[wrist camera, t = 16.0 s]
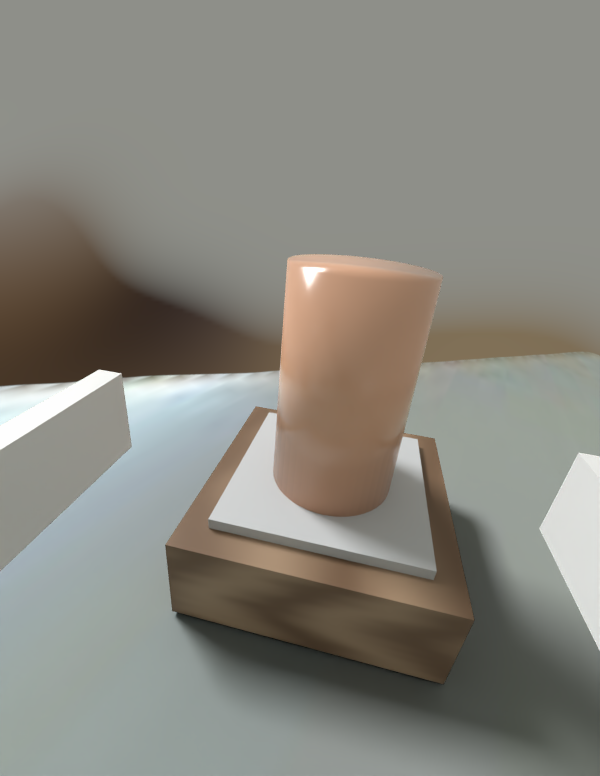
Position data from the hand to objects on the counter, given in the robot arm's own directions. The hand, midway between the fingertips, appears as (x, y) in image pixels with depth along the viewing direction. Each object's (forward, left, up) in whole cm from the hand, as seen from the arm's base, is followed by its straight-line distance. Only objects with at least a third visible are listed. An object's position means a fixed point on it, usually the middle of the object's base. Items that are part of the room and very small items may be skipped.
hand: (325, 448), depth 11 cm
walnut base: (0, +9, -13) cm, 16 cm away
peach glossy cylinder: (0, +9, -8) cm, 12 cm away
